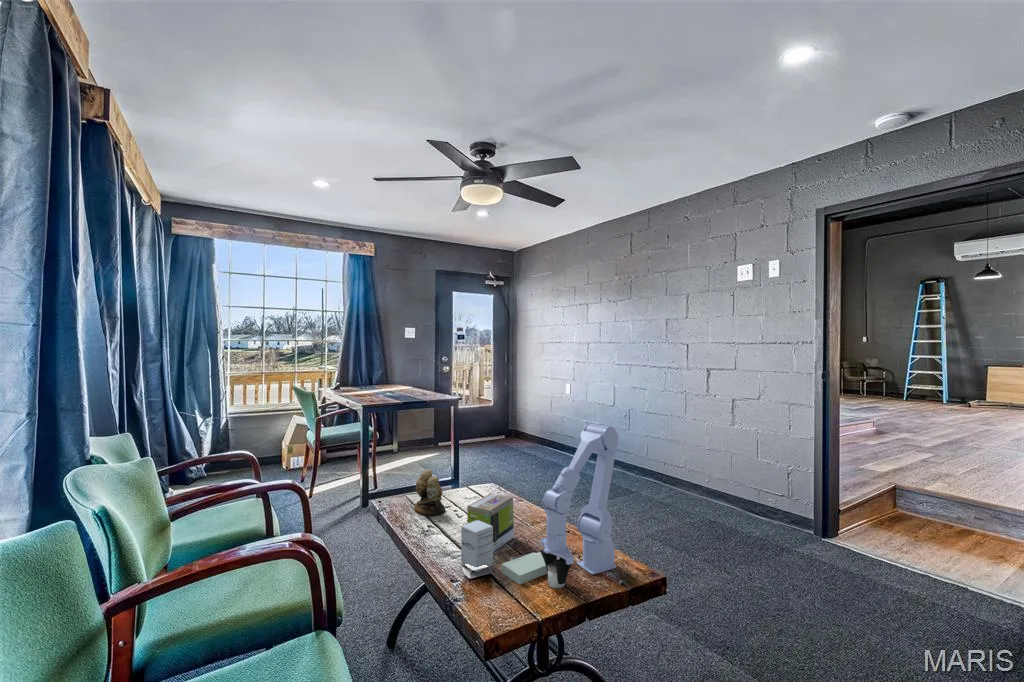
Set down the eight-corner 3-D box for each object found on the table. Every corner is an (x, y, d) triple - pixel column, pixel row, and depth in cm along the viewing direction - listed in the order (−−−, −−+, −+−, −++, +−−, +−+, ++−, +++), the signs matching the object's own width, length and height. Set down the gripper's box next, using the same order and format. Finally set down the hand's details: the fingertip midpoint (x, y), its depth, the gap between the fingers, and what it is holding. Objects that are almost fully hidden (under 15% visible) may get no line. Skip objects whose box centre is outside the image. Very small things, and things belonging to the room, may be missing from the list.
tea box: (491, 532, 174) (491, 492, 174) (514, 538, 169) (514, 496, 169) (466, 547, 162) (466, 504, 162) (491, 554, 156) (491, 510, 156)
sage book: (533, 561, 152) (533, 551, 152) (552, 572, 145) (552, 562, 145) (501, 573, 145) (501, 563, 145) (519, 585, 137) (519, 575, 137)
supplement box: (460, 565, 149) (460, 525, 149) (478, 557, 154) (478, 519, 154) (475, 573, 144) (475, 532, 144) (493, 565, 149) (493, 525, 149)
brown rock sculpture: (452, 513, 194) (452, 472, 193) (425, 520, 187) (425, 477, 187) (433, 500, 208) (433, 462, 208) (408, 506, 202) (407, 466, 201)
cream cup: (559, 577, 141) (559, 560, 141) (569, 585, 137) (569, 568, 137) (544, 581, 139) (544, 564, 139) (553, 590, 134) (553, 572, 134)
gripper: (531, 525, 142) (532, 571, 142) (558, 544, 129) (558, 594, 129) (551, 521, 145) (551, 565, 145) (579, 539, 133) (579, 587, 133)
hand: (556, 578), depth 138 cm, fingers closed on cream cup, 5 cm apart
